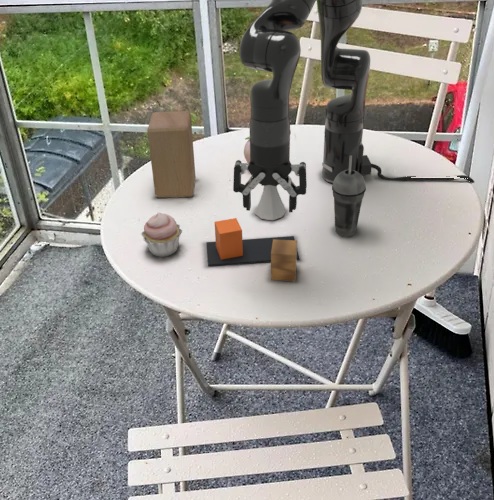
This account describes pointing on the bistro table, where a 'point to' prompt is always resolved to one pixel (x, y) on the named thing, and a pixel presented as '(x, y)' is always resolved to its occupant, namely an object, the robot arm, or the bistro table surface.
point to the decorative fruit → (247, 150)
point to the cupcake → (161, 234)
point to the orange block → (228, 238)
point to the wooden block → (172, 153)
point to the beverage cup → (347, 200)
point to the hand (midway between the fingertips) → (269, 209)
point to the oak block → (283, 260)
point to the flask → (270, 204)
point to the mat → (246, 252)
